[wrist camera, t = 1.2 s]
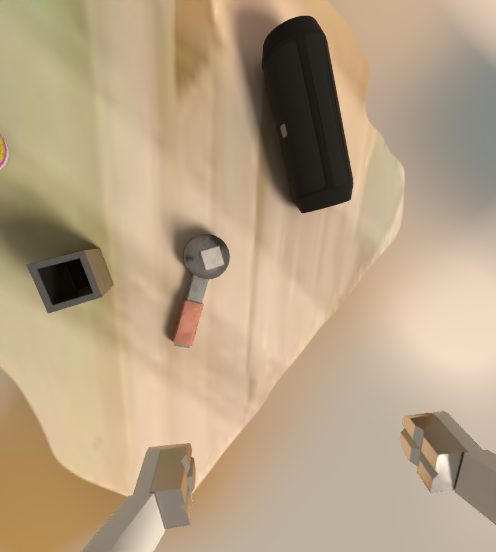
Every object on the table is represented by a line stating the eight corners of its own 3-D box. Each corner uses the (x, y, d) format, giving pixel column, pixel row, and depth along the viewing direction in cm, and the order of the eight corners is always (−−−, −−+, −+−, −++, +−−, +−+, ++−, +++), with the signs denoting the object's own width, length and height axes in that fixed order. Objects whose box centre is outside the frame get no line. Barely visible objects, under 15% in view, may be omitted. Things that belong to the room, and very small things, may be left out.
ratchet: (159, 339, 44) (160, 353, 38) (190, 229, 44) (195, 227, 38) (200, 346, 46) (207, 360, 41) (230, 242, 46) (241, 242, 40)
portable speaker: (248, 61, 44) (274, 11, 34) (300, 55, 46) (337, 8, 37) (286, 216, 49) (318, 210, 40) (331, 203, 52) (370, 194, 42)
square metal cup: (73, 296, 39) (48, 313, 30) (57, 259, 38) (26, 264, 29) (113, 284, 41) (102, 296, 31) (100, 248, 40) (84, 250, 30)
